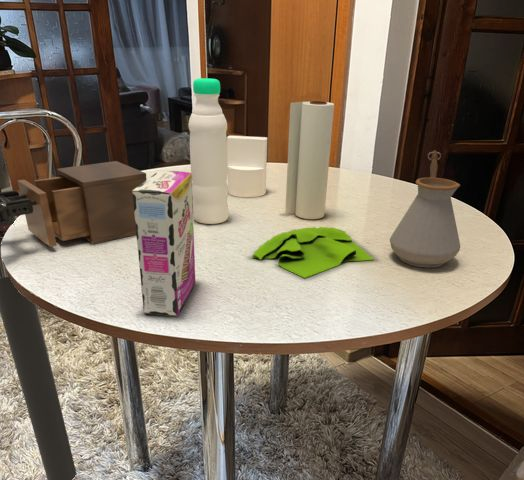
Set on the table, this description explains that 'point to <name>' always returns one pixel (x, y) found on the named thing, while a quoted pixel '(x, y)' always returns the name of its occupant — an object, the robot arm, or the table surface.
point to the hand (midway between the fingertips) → (24, 201)
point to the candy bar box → (165, 241)
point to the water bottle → (208, 154)
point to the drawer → (54, 209)
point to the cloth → (311, 250)
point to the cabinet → (107, 198)
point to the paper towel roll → (308, 158)
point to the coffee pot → (428, 223)
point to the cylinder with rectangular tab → (246, 165)
